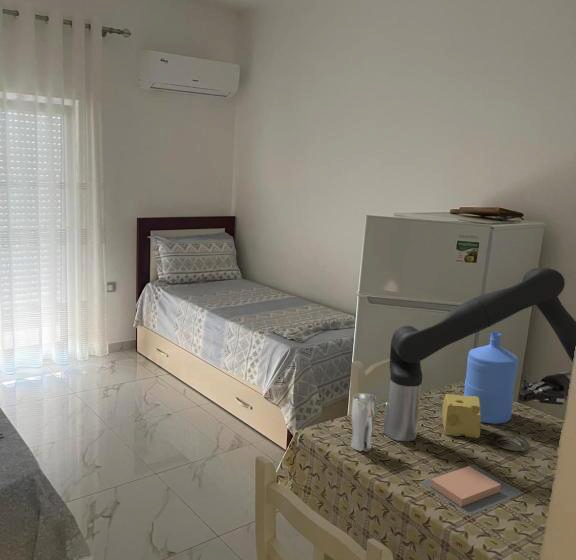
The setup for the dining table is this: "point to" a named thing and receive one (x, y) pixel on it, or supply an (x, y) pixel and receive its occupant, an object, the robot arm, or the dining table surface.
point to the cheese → (461, 415)
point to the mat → (503, 495)
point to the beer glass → (362, 420)
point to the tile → (465, 486)
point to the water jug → (492, 380)
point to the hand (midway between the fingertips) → (521, 397)
